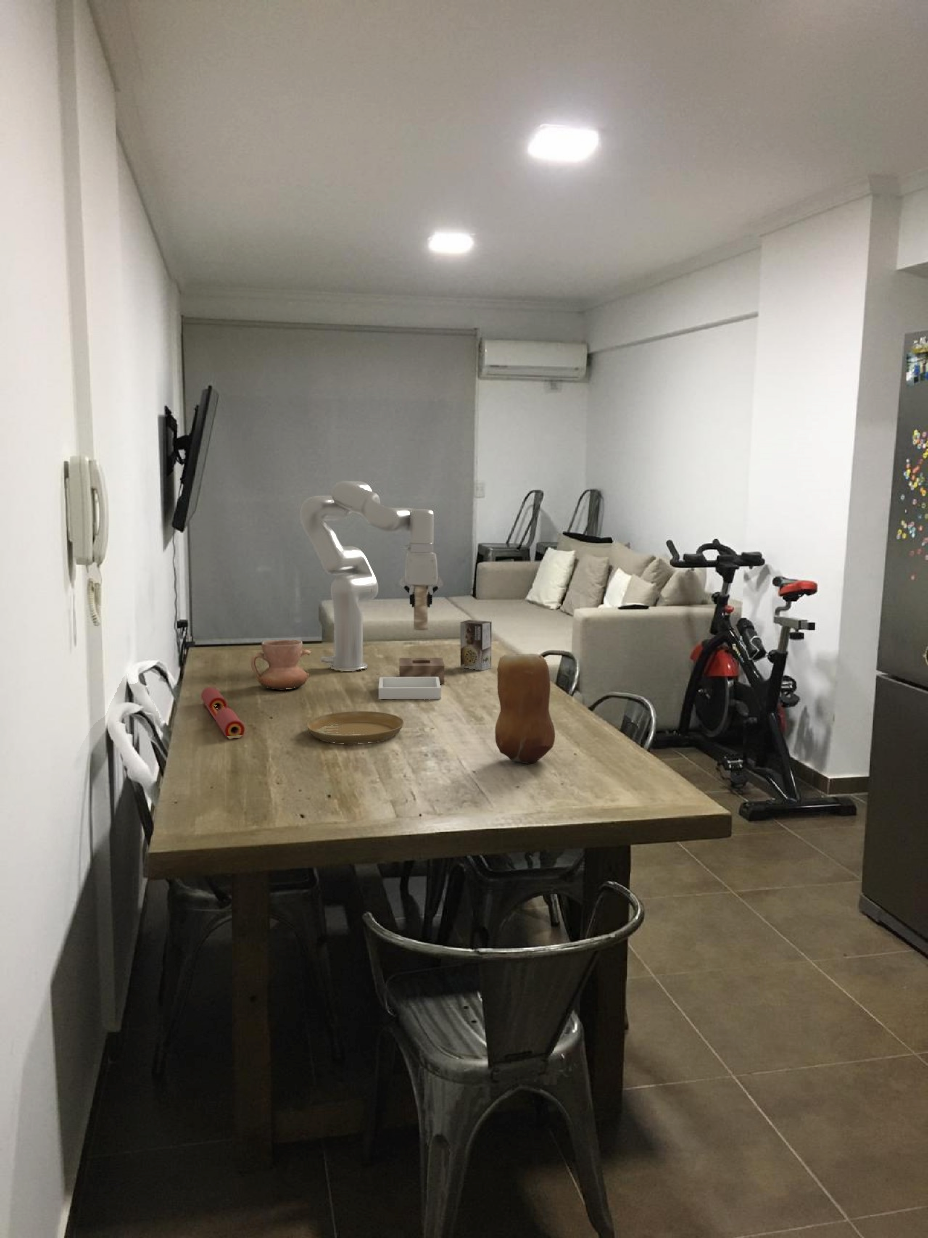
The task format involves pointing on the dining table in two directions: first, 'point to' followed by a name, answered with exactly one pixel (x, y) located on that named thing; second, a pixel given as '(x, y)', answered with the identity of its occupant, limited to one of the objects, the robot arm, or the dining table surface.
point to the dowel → (420, 607)
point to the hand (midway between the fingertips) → (420, 606)
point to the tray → (409, 688)
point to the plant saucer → (356, 726)
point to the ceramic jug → (281, 664)
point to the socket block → (422, 667)
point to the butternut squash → (524, 708)
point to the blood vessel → (222, 712)
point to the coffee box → (475, 644)
